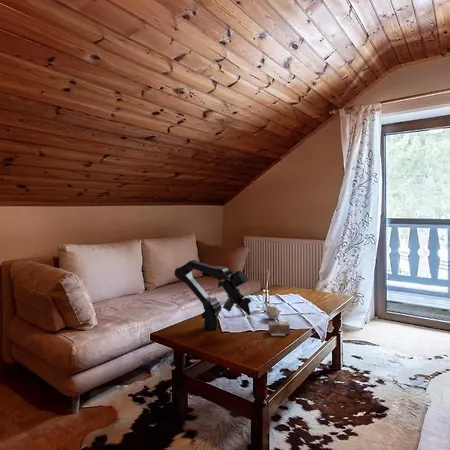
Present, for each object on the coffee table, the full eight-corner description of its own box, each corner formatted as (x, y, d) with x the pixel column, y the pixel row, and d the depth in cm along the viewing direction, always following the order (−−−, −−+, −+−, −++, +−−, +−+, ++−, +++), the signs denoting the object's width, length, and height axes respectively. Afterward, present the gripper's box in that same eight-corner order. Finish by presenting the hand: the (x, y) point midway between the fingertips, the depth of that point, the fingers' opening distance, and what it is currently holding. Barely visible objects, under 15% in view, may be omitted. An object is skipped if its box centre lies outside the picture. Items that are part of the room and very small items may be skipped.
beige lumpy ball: (275, 326, 196) (280, 316, 190) (261, 320, 198) (265, 309, 191) (279, 314, 203) (284, 304, 197) (265, 308, 204) (270, 297, 198)
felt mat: (271, 335, 175) (271, 334, 175) (269, 329, 182) (269, 329, 182) (285, 335, 175) (285, 334, 175) (283, 329, 182) (283, 329, 182)
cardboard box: (269, 324, 176) (289, 324, 176) (268, 321, 180) (288, 321, 180) (269, 333, 176) (289, 333, 176) (268, 330, 181) (288, 330, 181)
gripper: (214, 298, 184) (232, 322, 185) (223, 302, 166) (242, 328, 167) (231, 285, 186) (248, 308, 187) (241, 287, 168) (260, 313, 169)
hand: (249, 314), depth 178 cm, fingers closed
